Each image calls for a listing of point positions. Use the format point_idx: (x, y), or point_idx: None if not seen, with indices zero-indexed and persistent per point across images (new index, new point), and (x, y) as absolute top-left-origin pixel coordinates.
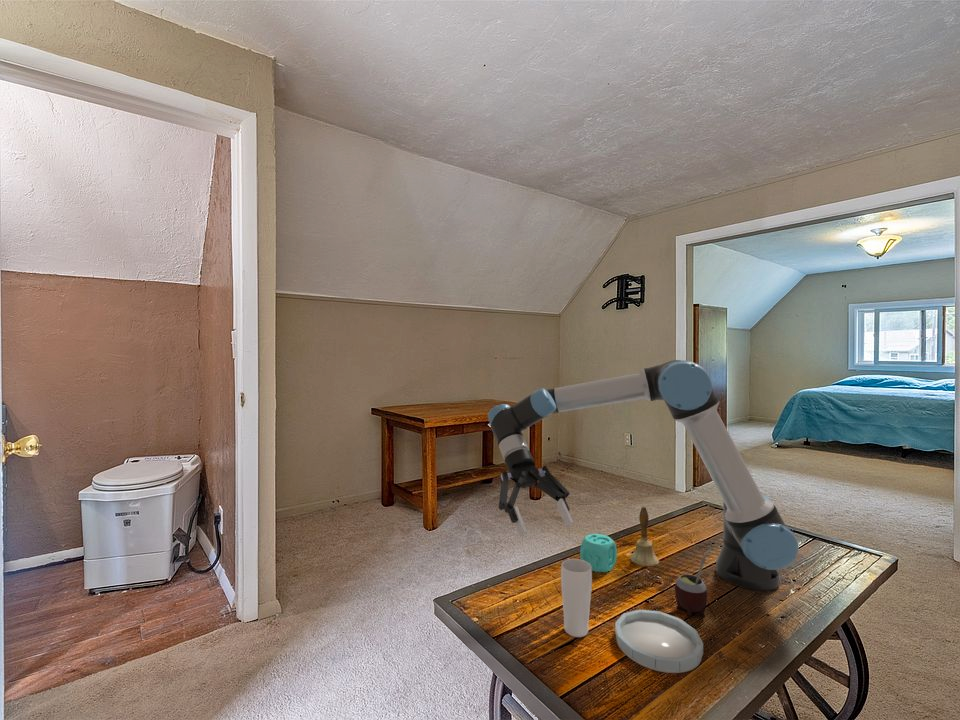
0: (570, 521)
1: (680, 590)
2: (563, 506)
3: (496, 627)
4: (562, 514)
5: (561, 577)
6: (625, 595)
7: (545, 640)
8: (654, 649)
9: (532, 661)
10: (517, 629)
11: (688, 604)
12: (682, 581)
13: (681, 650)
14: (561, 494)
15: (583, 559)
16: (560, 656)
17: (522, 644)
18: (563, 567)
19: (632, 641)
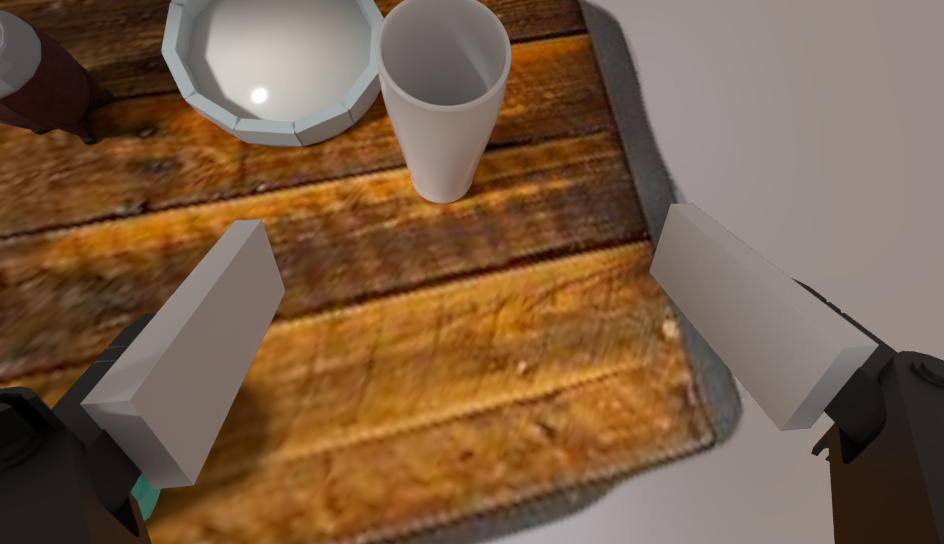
0: (256, 226)
1: (48, 63)
2: (191, 318)
3: (628, 271)
4: (243, 338)
5: (501, 104)
6: (180, 259)
7: (533, 177)
8: (319, 29)
9: (595, 130)
10: (580, 242)
11: (78, 63)
12: (3, 45)
13: (262, 2)
14: (3, 481)
15: (148, 496)
16: (528, 118)
17: (592, 187)
18: (509, 57)
19: (346, 70)
